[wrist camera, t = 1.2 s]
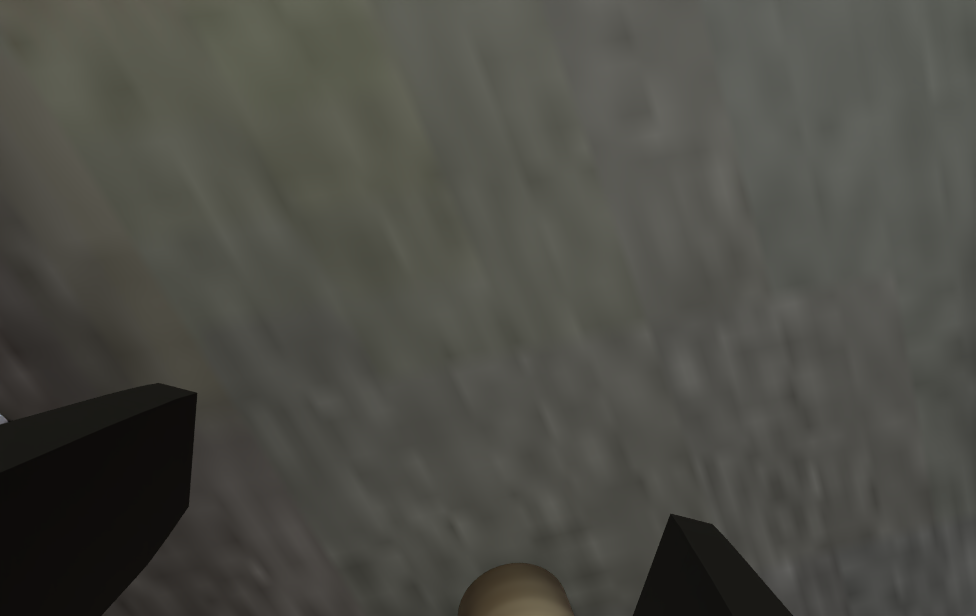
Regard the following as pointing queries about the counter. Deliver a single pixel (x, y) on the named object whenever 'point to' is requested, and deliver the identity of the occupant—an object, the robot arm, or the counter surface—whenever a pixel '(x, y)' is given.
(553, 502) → the counter surface
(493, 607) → the beige cylinder
